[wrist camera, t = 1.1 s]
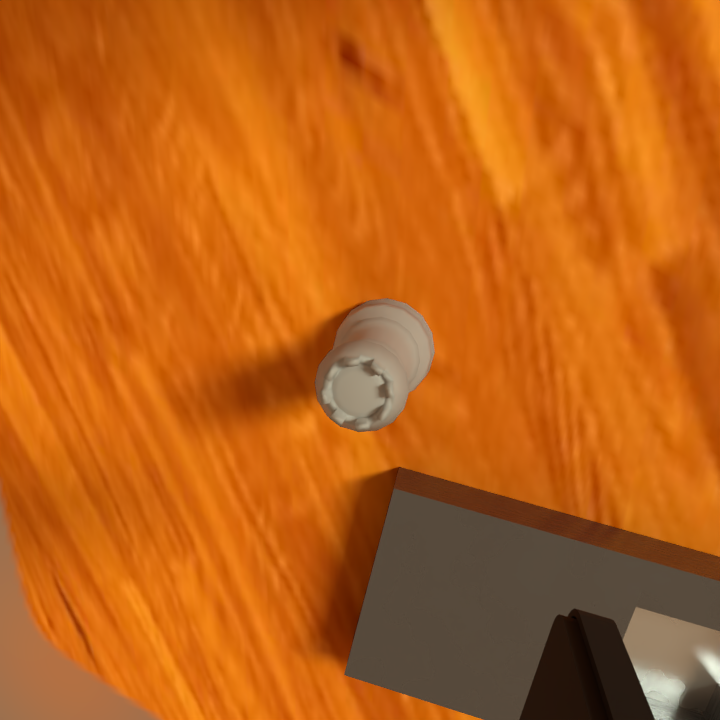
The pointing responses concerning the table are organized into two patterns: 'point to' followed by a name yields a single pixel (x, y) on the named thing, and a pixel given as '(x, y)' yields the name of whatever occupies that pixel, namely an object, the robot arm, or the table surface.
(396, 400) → the rook chess piece
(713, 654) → the pocket plate
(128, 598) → the table surface
